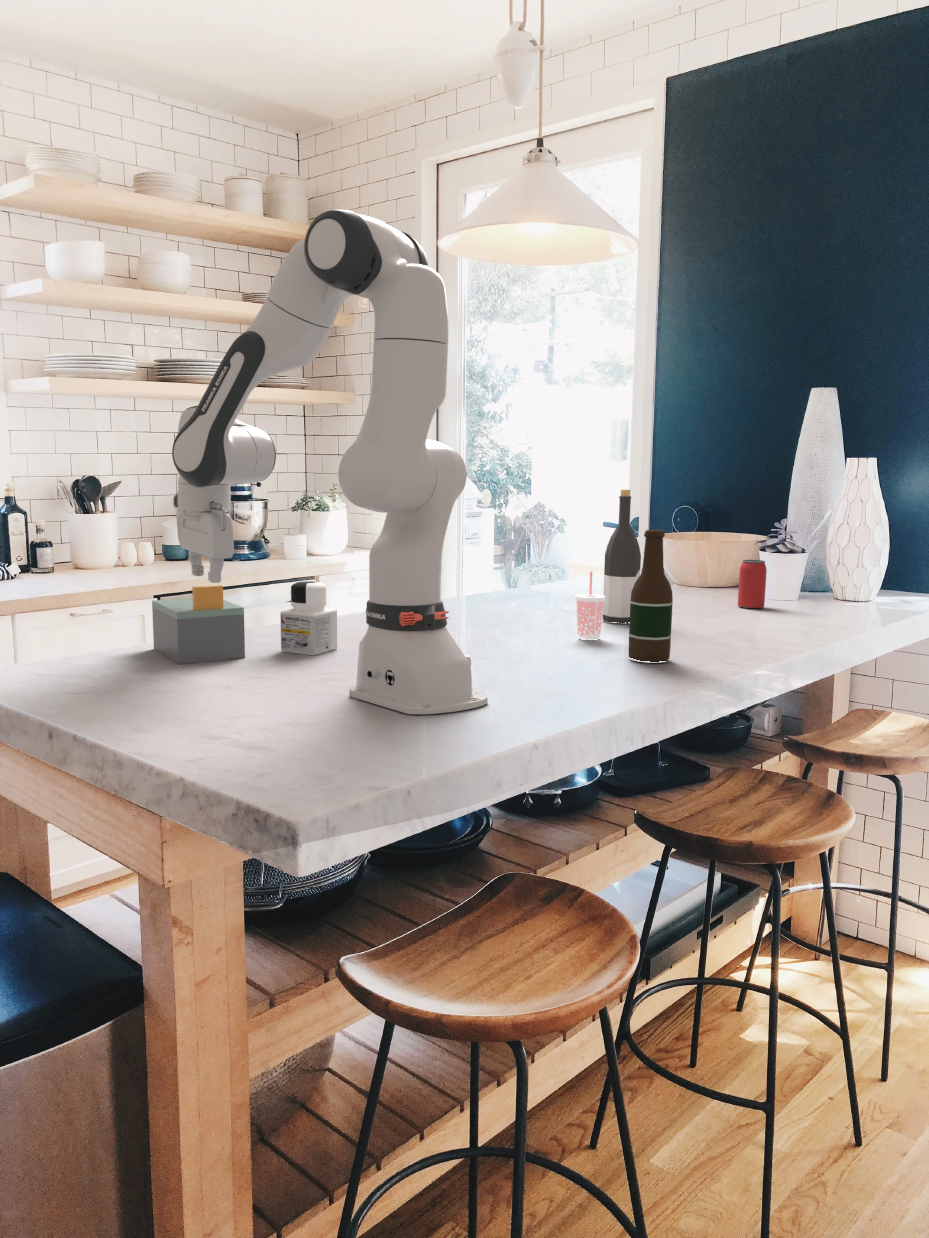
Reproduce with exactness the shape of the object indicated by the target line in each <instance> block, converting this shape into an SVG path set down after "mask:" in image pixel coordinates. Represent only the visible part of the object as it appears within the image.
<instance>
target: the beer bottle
mask: <svg viewBox="0 0 929 1238" xmlns="http://www.w3.org/2000/svg"><path fill="white" fill-rule="evenodd" d="M665 536H666V535H665V531H664V530H662V529H646V530H645V531H644V534H643V537H644V538H645V541H644V549H643V557H642V558H643V561H642V568H641V570H640V576H639V578H638V579H637V581H636V582H635V584H634V586H633V589H632V592H631V601H630V624H628V625H629V626H628V627H629V628H628V629H629V632H628V658H629V657H630V658H633V659H636V660H640V661H650V662H659V661H667V660H668V659H669V660H670V657H671V646H672V645H671V644H672V643H671V642H672V623H673V622H672V620H673V604H674V603H673V602H674V601H673V589H672V585H671V583H670V581H669V580H668V578H667V576H666V575H665V569H664V538H665ZM669 660H668V661H669ZM668 661H667V662H668Z"/></svg>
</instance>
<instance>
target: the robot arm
mask: <svg viewBox="0 0 929 1238" xmlns="http://www.w3.org/2000/svg"><path fill="white" fill-rule="evenodd" d="M304 237H305V238H304V239H301V240H299V241H297V242H295V243H294V245H293V246H292V247H291V249H290V250H289V252H288V253H287V254H286V256H285V258H284V259H283V261H282V263H281V265H279V266H280V267H279V268H278V271H277V272H276V274H275V277H274V279H273V281H272V283H271V285H270V287H269V290H268V292H267V294H266V297H265V300H264V301H263V303H262V306H261V308H260V310H259V311H258V313H257V315H256V316H255V318H254V319H253V321H252V322H251V323H250V324H249V326H248V327H247V329H245V331H244V332H242V333H241V334H240V335H239V336H238V337H237V338H235V340H234V341H233V343H231V344H230V346H229V347H228V349H227V351H226V353H225V354H224V355H223V358H222V360H221V361H220V364H219V366H218V367H217V369H216V371H215V372H214V374H213V376H212V378H211V381H210V382H209V384H208V385H207V388H206V390H205V392H204V394H203V395H202V397H201V398H200V401H199V403H198V405H194V406H190V407H188V408H185V409H184V410H183V411H182V412H181V414H180V417H179V422H178V427H177V435H176V436H175V438H174V440H173V445H172V450H171V456H172V461H173V464H174V467H175V469H176V471H177V473H178V474H179V476H178V481H177V483H178V484H177V485H178V486H177V492H176V493H175V494H174V496H173V497H172V499H173V501H172V503H173V504H172V505H173V508H174V509H176V529H177V539H178V543H179V547H181V549H183V550H188V558H189V563H190V566H191V567H190V568H191V575H192V576H193V577H202V576H204V575H205V573H204V569H205V566H204V565H203V558H202V557H203V556H205V557H208V563H209V564H210V565H209V571H208V572H207V576H208V578H207V581H208V582H210V583H212V584H218V583H221V582H222V570H223V567H224V564H225V562H224V561H225V559H232V558H233V555H234V553H235V547H234V546H235V545H234V543H235V542H234V540H235V539H234V529H233V528H234V527H233V521H232V517H231V515H230V514H229V513H227V512H230V511H231V510H232V503H231V502H232V500H231V499H232V495H231V493H232V492H231V491H232V490H231V485H239V484H255V483H259V482H262V481H264V480H267V478H269V476H270V475H271V474H272V472H273V470H274V468H275V465H276V462H277V461H276V460H277V452H276V446H275V443H274V440H273V439H272V437H271V435H270V434H269V433H268V432H266V430H264V429H262V428H258V427H256V426H252V425H250V424H248V423H246V422H243V421H241V420H239V419H238V416H239V415H240V412H241V411H242V410H243V409H242V408H243V407H244V406H245V403H246V402H247V399H248V398H249V396H250V395H251V393H252V391H253V390H254V389H255V388H257V386H258V385H260V384H261V383H262V382H264V381H266V380H267V379H270V378H272V377H274V376H277V375H279V374H281V373H286V372H289V371H292V370H295V369H296V370H297V369H299V368H302V367H305V366H306V365H307V366H308V364H310V363H311V362H313V361H314V360H315V359H316V357H318V355H319V354H320V352H321V351H322V350H323V349H324V346H325V344H327V343H326V342H327V341H328V339H329V336H330V334H331V331H332V328H333V326H334V324H335V321H336V319H337V315H338V313H339V311H340V309H341V307H342V305H343V303H344V302H345V301H346V300H347V299H348V298H350V297H351V296H354V295H355V296H359V297H362V298H365V299H367V300H369V302H370V303H371V305H372V308H373V313H374V330H373V346H372V347H373V351H372V352H373V353H372V354H373V355H372V372H371V389H370V394H369V401H368V405H367V407H366V412H365V416H364V419H363V421H362V424H361V428H360V430H359V433H358V434H357V437H356V439H355V440H354V441H353V443H352V444H351V445H350V446H349V448H347V449H346V451H345V452H344V453H343V455H342V457H341V459H340V462H339V465H338V466H339V467H338V483H339V485H340V486H339V487H340V489H341V491H342V493H343V495H344V497H345V498H346V499H347V500H348V501H349V502H350V503H351V504H353V505H355V506H356V507H359V508H362V509H365V510H368V511H372V512H376V513H386V516H385V519H384V523H383V527H382V529H381V532H380V534H379V536H378V538H377V539H376V541H375V542H374V543H373V544H372V546H371V548H370V551H369V556H368V559H369V562H368V563H369V564H368V565H369V567H368V568H369V569H368V570H369V571H368V572H369V576H368V579H369V581H368V582H369V583H368V584H369V586H368V587H369V588H368V589H369V592H368V593H369V594H368V595H369V598H368V599H369V600H367V602H366V608H365V615H366V616H365V617H366V619H365V620H366V624H367V625H368V626H367V630H366V632H365V634H364V636H362V639H361V640H360V641H359V644H358V657H357V658H358V659H357V672H356V685H354V686H353V687H351V688H350V689H349V693H348V696H349V697H351V698H354V699H357V700H359V701H364V702H366V703H371V704H373V705H377V706H380V707H383V708H387V709H391V710H394V711H397V712H399V713H404V714H407V715H435V714H444V713H453V712H461V711H466V710H470V709H475V708H480V707H482V706H485V705H486V704H488V703H489V701H488V696H487V695H485V694H484V693H481V692H480V691H479V690H477V689H475V688H473V682H472V681H473V680H472V679H473V677H472V668H471V666H472V661H471V657H470V655H468V654H464V652H463V651H462V650H461V648H460V647H459V646H458V643H457V642H456V641H455V639H454V638H453V637H452V635H451V634H450V632H449V630H448V628H447V625H448V620H447V619H449V618H450V617H449V616H446V615H447V614H449V613H450V612H449V611H447V610H445V606H444V602H443V600H441V595H442V594H441V591H442V589H441V588H442V587H441V586H442V584H441V583H442V556H443V548H444V542H445V537H446V532H447V530H448V525H449V521H450V518H451V515H452V512H453V508H454V505H455V503H456V501H457V499H458V498H459V497H460V495H462V492H463V491H464V489H465V487H466V483H467V476H468V474H467V473H468V472H467V467H466V464H465V461H464V458H463V457H462V456H461V455H460V453H459V452H458V451H457V450H455V449H454V448H452V447H451V446H449V445H447V444H446V443H445V444H444V443H442V442H440V441H437V440H434V439H427V438H428V435H429V431H430V427H431V424H432V421H433V419H434V416H435V414H436V412H437V410H438V409H439V408H440V407H441V405H442V404H443V403H444V402H445V398H446V394H447V376H448V375H447V374H448V355H449V354H448V352H449V315H448V313H449V311H448V301H447V300H448V299H447V294H446V286H445V283H444V280H443V278H442V277H441V275H440V274H439V273H438V272H437V271H435V270H434V269H433V268H431V267H429V261H428V257H427V254H426V252H425V250H424V248H423V247H422V245H421V244H420V243H419V242H418V241H417V240H416V239H415V238H414V237H413V236H411V235H409V233H407V232H404V231H400V230H398V229H396V228H395V227H392V226H391V225H388V223H385V222H384V221H382V220H380V219H377V218H374V217H371V216H367V215H364V214H358V213H357V212H356V211H353V210H349V209H332V210H327V211H324V212H322V213H320V214H319V215H317V216H316V217H315V218H314V219H313V221H312V222H311V223H310V225H309V227H308V229H307V231H306V233H305V236H304Z"/></svg>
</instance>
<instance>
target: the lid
mask: <svg viewBox="0 0 929 1238" xmlns="http://www.w3.org/2000/svg"><path fill="white" fill-rule="evenodd" d="M191 590H192V597H187V598H186V597H184V598H169V599H155V600H154V599H153V600H151V603H152V604H151V607H154V608H156V609H158V610H160V611H162V612H164V613H166V614H168V615H170V616H172V617H174V618H176V619H186V618H200V617H213V616H227V615H240V614H244V615H245V607H243V606H241V605H239V604H237V603H233V602H230V601H227V600H225V599H224V586H223V585H219V584H215V585H201V586H192V589H191Z"/></svg>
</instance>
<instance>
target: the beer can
mask: <svg viewBox="0 0 929 1238" xmlns="http://www.w3.org/2000/svg"><path fill="white" fill-rule="evenodd" d="M738 577H739V578H738V592H737V593H738V594H737V605H738V608H741V607H743V608H742V609H745V608H755V609H754V610H759V609H758V608H761V609H763V608H764V607H765V602H766V600H765V598H766V586H767V566H766V561H765V560H761V559H742V563H741V565H740V568H739V576H738ZM756 608H757V609H756Z"/></svg>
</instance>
